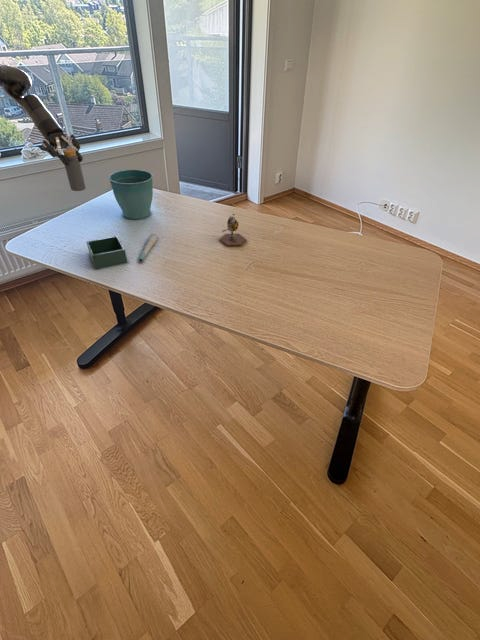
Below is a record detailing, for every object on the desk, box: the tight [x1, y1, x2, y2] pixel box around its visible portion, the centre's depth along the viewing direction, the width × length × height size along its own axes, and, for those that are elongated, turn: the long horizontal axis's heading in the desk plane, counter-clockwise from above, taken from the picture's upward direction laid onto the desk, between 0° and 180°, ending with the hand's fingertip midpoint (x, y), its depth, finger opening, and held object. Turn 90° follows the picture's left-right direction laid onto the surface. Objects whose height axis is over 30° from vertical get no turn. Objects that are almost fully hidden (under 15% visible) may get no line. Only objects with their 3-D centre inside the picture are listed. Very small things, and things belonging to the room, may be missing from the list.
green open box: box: [86, 235, 128, 270], centre depth 126 cm, size 11×11×6 cm
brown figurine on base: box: [219, 213, 247, 247], centre depth 139 cm, size 11×9×12 cm
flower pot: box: [108, 169, 154, 220], centre depth 152 cm, size 18×18×17 cm
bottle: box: [62, 148, 87, 192], centre depth 140 cm, size 6×6×15 cm
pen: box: [138, 232, 158, 263], centre depth 133 cm, size 19×3×3 cm, turn 176°
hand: (74, 162), depth 137 cm, fingers closed on bottle, 5 cm apart
